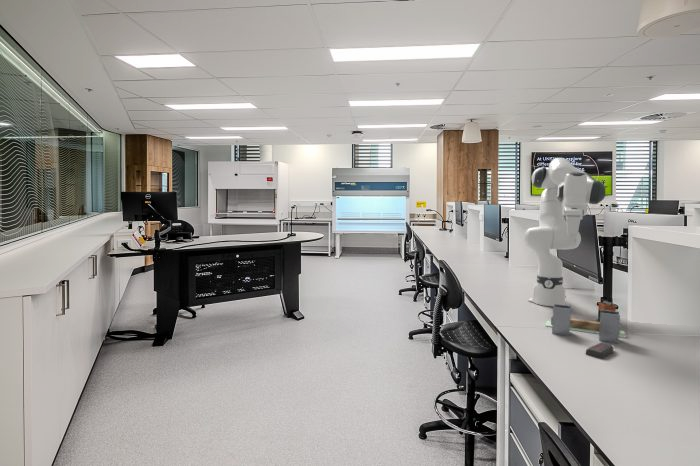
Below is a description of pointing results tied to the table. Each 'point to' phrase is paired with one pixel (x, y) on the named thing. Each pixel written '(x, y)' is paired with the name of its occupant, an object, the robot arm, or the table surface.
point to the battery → (605, 307)
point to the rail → (584, 324)
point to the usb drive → (600, 350)
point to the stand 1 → (561, 319)
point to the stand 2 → (609, 326)
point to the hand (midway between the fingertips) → (572, 243)
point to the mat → (622, 333)
